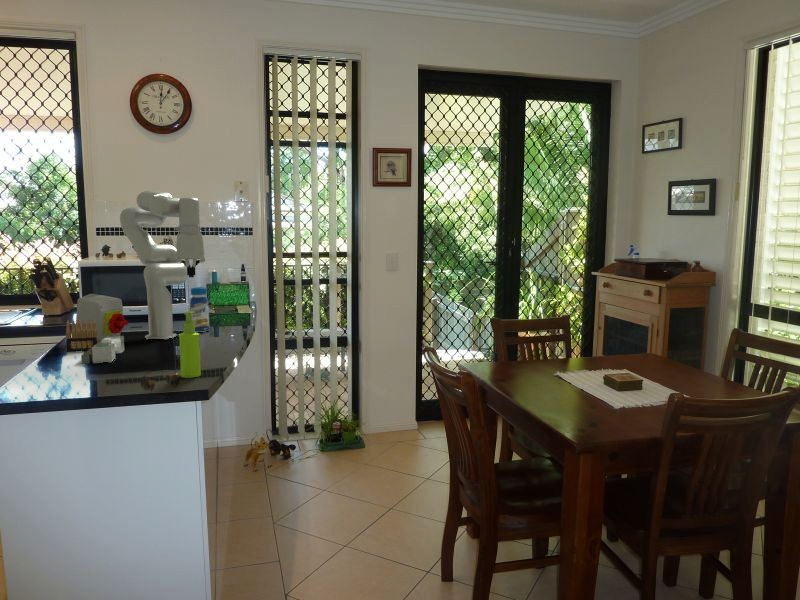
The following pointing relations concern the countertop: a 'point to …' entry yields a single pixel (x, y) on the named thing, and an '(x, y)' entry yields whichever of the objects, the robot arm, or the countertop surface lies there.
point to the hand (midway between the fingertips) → (191, 277)
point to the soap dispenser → (189, 349)
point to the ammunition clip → (80, 336)
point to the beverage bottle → (200, 308)
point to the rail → (104, 351)
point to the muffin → (108, 341)
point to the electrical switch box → (101, 314)
